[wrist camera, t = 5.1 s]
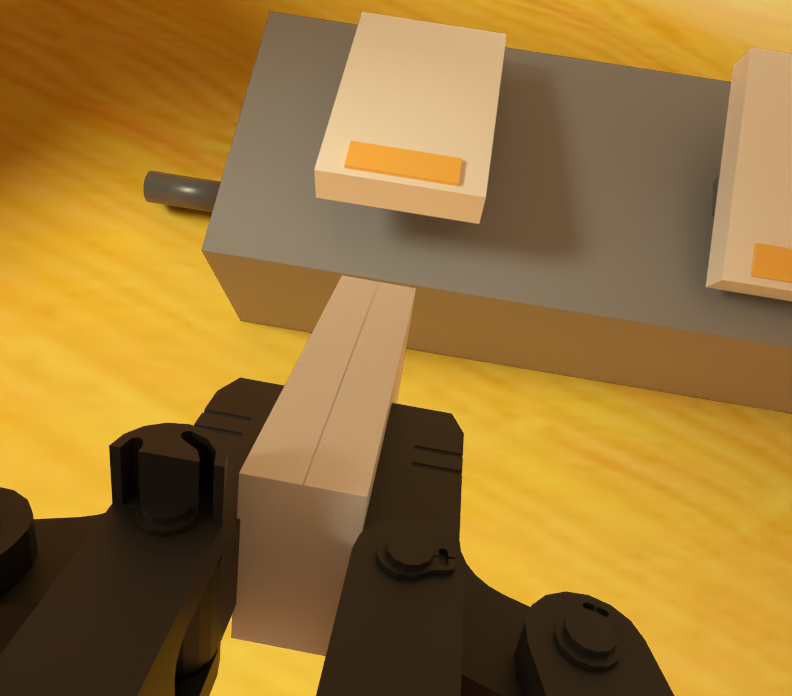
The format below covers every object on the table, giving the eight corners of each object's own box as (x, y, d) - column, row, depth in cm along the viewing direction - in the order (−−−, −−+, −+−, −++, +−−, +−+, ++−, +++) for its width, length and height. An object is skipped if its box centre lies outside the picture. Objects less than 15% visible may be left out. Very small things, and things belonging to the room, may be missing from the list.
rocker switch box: (124, 301, 35) (39, 210, 26) (186, 105, 39) (130, -31, 30) (838, 421, 34) (998, 368, 25) (831, 207, 38) (968, 96, 29)
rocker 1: (315, 197, 25) (314, 166, 24) (361, 41, 30) (362, 8, 28) (479, 224, 25) (486, 194, 24) (500, 63, 29) (507, 30, 28)
